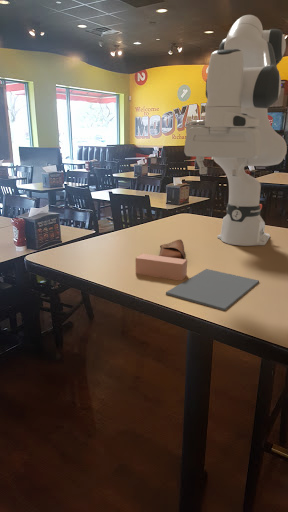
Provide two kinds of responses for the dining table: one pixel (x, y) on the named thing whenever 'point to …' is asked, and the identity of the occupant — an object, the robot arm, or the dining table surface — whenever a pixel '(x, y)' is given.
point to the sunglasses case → (173, 250)
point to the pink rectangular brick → (161, 266)
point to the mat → (213, 289)
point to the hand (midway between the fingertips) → (219, 175)
